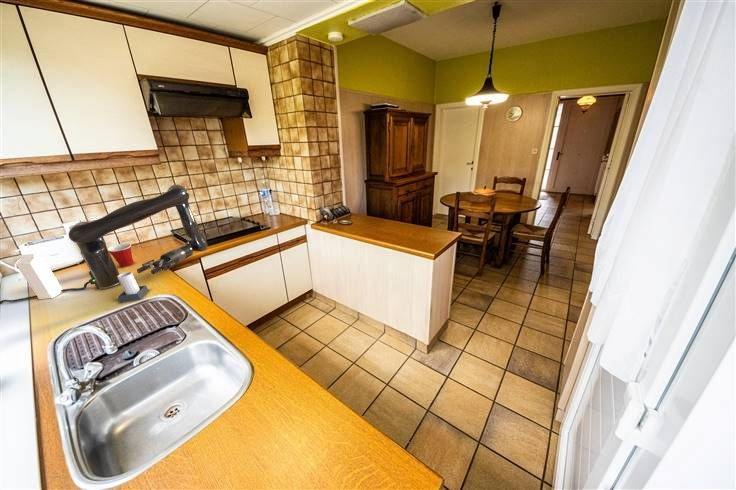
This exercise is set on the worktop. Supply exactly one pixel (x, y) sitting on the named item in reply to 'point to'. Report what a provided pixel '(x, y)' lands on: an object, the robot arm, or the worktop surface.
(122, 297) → the dark square dish
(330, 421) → the worktop surface
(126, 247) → the plastic cup
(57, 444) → the worktop surface
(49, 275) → the milk
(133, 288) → the tumbler
